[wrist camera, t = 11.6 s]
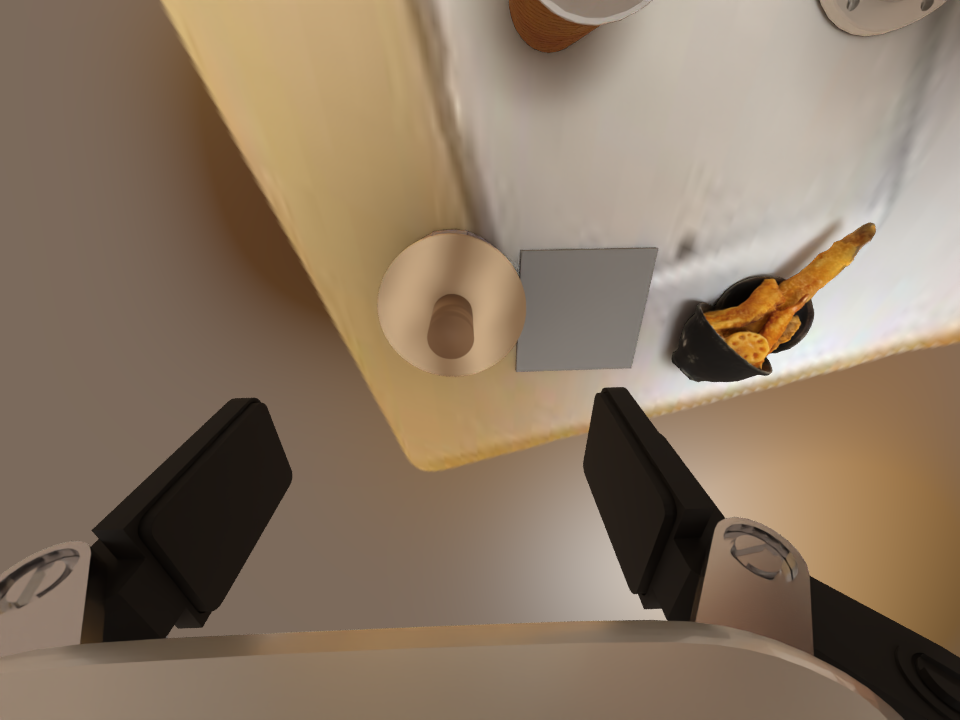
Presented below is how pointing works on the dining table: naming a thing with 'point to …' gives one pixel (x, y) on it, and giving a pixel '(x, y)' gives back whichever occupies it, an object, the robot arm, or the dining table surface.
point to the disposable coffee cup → (566, 19)
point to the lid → (451, 305)
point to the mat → (583, 307)
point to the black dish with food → (759, 317)
